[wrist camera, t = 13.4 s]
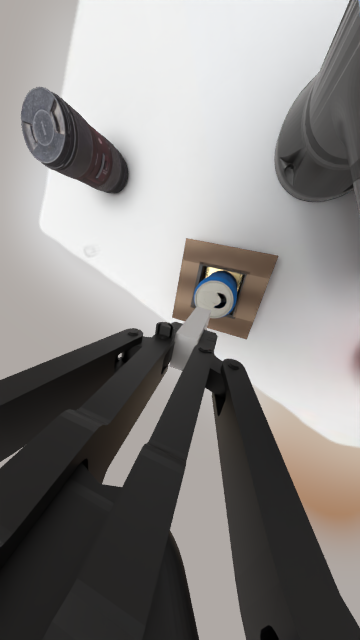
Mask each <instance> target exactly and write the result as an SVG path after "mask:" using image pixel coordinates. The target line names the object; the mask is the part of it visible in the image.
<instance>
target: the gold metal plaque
mask: <svg viewBox="0 0 360 640" xmlns="http://www.w3.org/2000/svg"><path fill="white" fill-rule="evenodd" d="M216 271H225V270H220V269H216V268H211V267H207V270H206V274H205V278H206V277H208V276H209V275H210V274H212V273H214V272H216ZM227 272H229V271H227ZM229 273H231V274H232V275H233V276H234V277H235V279H236V282H237V292H238V289H239V286H240V283H241V280H242V276H243V274H239V273H234V272H229ZM205 278H204V279H205Z"/></svg>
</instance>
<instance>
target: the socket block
mask: <svg viewBox="0 0 360 640" xmlns="http://www.w3.org/2000/svg"><path fill="white" fill-rule="evenodd" d="M277 258H278V256H276V255H271V254H266V253H261V252H256V251H250V250H245V249H240V248H235V247H230V246H224V245H219V244H214V243H209V242H204V241H198V240H193V239H188V238H186V243H185V248H184V254H183V260H182V265H181V271H180V276H179V282H178V288H177V293H176V299H175V305H174V310H173V316H172V318H176V319H179V320H183V321H186V320H187V319H188V317H189V316H190V315H191V313H192V312H193V311H194V310H195V308H196V306H195V303H194V292H195V289H196V287H197V286H198V284H199V283H200V282H201V281H203V280H204V276H205V271H206V267H211V268H216V269H220V270H225V271H229V272H234V273H239V274H243V275H244V277H243V280H242V283H241V287H240V290H239V293H238V296H237V301H236V304H235V307H234V308H233V310H232V311H231V312H230V313H229V314H228V315H226V316H224V317H221V318H210V319H209V322H208V326H207V328H210V329H213V330H217V331H220V332H223V333H227V334H230V335H234V336H237V337H240V338H244V339H247V337H248V334H249V332H250V329H251V326H252V324H253V321H254V319H255V316H256V313H257V311H258V308H259V305H260V303H261V300H262V297H263V295H264V292H265V290H266V287H267V284H268V282H269V279H270V276H271V274H272V271H273V269H274V266H275V263H276V261H277Z"/></svg>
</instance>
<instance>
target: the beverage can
mask: <svg viewBox="0 0 360 640" xmlns="http://www.w3.org/2000/svg"><path fill="white" fill-rule="evenodd" d="M236 301H237V282H236V279H235V277H234V276H233V275H232V274H231V273H229V272H227V271H216V272H214V273H212V274H210V275H209V276H208V277H206V278H205V279H204V280H203V281H201V282H200V283H199V284H198V286H197V287H196V289H195V292H194V303H195V306H196V307H200V308H204V309H208V310H211V315H210V318H221V317H224V316H226V315H228V314H229V313H230V312H231V311H232V310H233V308H234V307H235V304H236Z"/></svg>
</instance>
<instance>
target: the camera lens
mask: <svg viewBox="0 0 360 640" xmlns="http://www.w3.org/2000/svg"><path fill="white" fill-rule="evenodd" d="M21 120H22V124H21V125H22V131H23V135H24V139H25V142H26V145H27V146H28V148H29V150H30V152H31V153H32V155H33V156H34V157H35V158H36V159H37V160H39V161H40V162H41V163H43V164H44V165H45V166H47V167H48V168H50V169H52V170H55V171H57V172H59V173H61V174H63V175H66V176H68V177H71V178H73V179H77V180H79V181H81V182H83V183H85V184H87V185H89V186H91V187H93V188H95V189H97V190H100V191H104V192H107V193H117V192H119V191H121V190H122V189H123V188H124V187H125V185H126V182H127V178H128V170H127V166H126V163H125V161H124V159H123V158H122V156H121V154H120V153H119V151H118V150H117V149H116V148H115V147H114V146H113V144H112V143H111V142H109V141H108V140H107V139H106V138H105V137H104V136H102V135H101V134H99V133H98V132H97V131H96V130H95V129H94V128H92V127H91V126H90V125H89V124H88V123H87V122H86V120H85V119H84V118H83V117H82V116H81V115H80V114H79V113H78V112H76V111H75V110H74V109H73V108H72V107H71V106H70V105H68V104H67V103H66V102H65V101H64V100H63V99H62V98H60V97H59V96H58V95H57V94H55V93H53V92H50V91H49V90H48V89H46V88H43V87H36V88H34V89H32V90H31V91H29V93H28V94H27V95H26V97H25V100H24V102H23V106H22V111H21Z"/></svg>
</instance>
